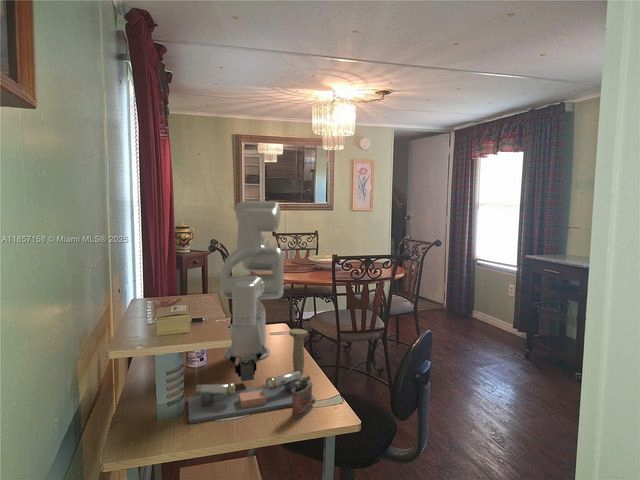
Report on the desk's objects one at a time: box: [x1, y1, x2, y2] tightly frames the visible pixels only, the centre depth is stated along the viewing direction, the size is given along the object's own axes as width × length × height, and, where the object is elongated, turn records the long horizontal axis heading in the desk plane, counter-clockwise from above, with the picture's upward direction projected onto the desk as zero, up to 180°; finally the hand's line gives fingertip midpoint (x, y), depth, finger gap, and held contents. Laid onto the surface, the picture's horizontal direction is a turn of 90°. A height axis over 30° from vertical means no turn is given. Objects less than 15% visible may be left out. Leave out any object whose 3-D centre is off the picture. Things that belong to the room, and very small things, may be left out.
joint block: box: [239, 357, 255, 382], centre depth 134 cm, size 4×6×6 cm, turn 19°
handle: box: [288, 328, 309, 375], centre depth 143 cm, size 5×6×15 cm
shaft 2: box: [265, 371, 303, 394], centre depth 127 cm, size 11×4×7 cm, turn 124°
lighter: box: [291, 374, 314, 420], centre depth 117 cm, size 8×3×10 cm, turn 147°
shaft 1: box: [195, 382, 236, 407], centre depth 121 cm, size 11×4×7 cm, turn 94°
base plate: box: [187, 385, 316, 424], centre depth 123 cm, size 13×36×3 cm, turn 109°
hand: (245, 373), depth 135 cm, fingers closed on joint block, 4 cm apart
